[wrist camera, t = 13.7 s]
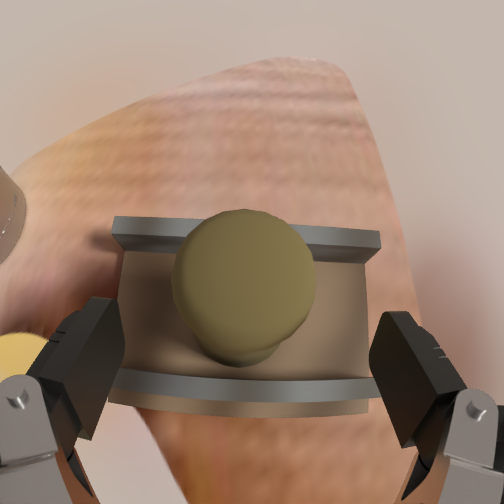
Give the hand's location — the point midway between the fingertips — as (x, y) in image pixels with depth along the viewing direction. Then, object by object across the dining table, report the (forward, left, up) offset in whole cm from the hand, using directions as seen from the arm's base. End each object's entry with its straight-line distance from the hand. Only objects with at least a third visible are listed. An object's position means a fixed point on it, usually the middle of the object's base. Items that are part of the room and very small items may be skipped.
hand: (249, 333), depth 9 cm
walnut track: (0, +2, -12) cm, 12 cm away
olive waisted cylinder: (0, +2, -11) cm, 11 cm away
